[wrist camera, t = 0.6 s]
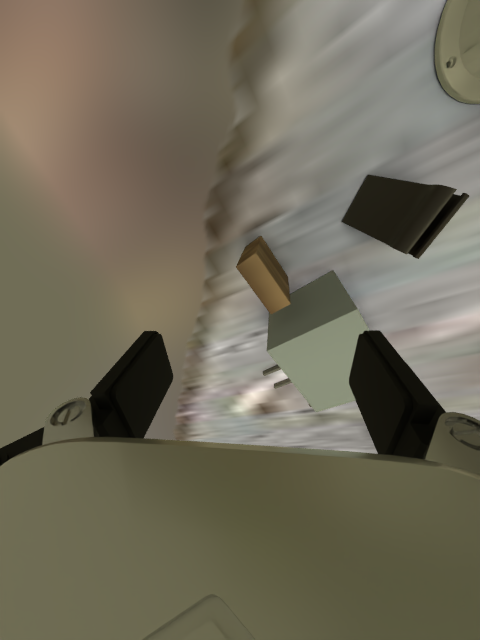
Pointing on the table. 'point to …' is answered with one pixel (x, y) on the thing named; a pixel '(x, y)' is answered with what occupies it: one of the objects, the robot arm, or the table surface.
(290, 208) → the table surface
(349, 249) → the table surface
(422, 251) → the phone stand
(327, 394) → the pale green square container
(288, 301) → the tan rectangular block
